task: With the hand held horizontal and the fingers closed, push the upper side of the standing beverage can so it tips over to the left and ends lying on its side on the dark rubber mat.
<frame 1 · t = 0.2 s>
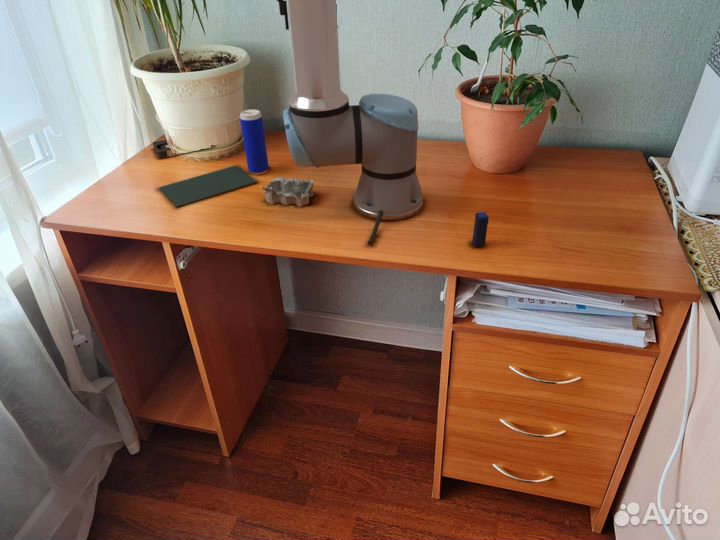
hand: (313, 27, 139), 28 cm above the table, tool pointing down, fingers open, 13 cm apart
eraser: (478, 245, 102), on the table
mat: (208, 186, 126), on the table
beverage can: (259, 171, 132), on the table
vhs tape: (183, 149, 146), on the table
egg carton: (289, 198, 120), on the table
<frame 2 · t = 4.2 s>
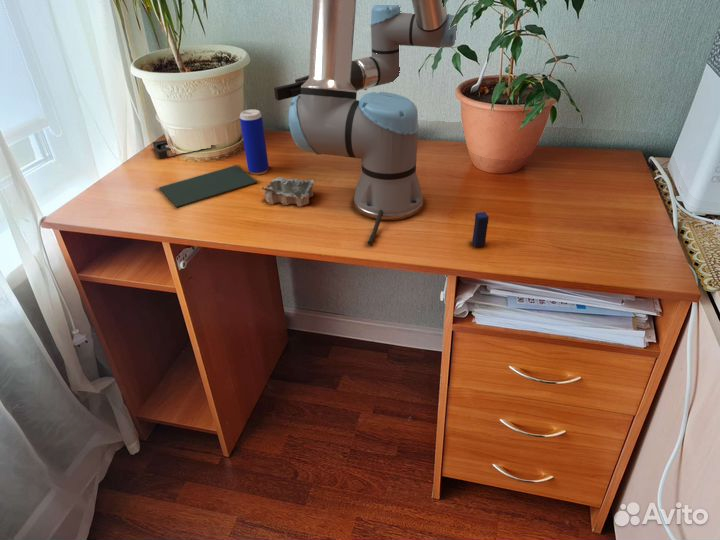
hand: (276, 94, 125), 18 cm above the table, tool horizontal, fingers closed
nothing on the table moved.
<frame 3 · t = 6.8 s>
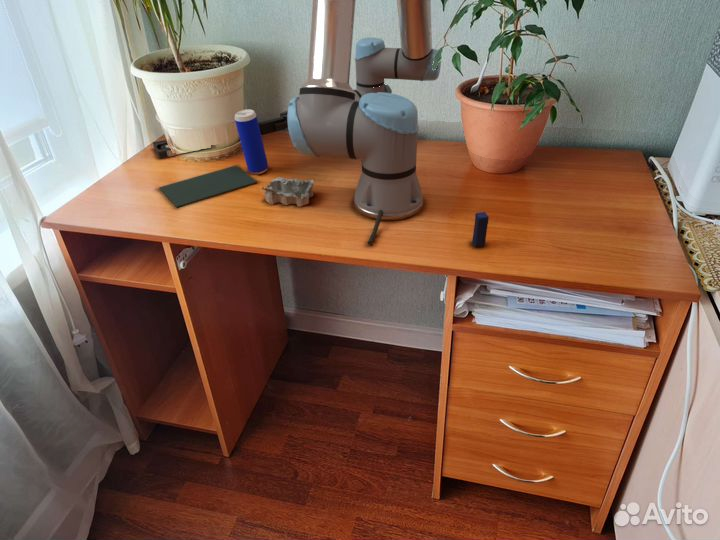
hand: (260, 128, 127), 10 cm above the table, tool horizontal, fingers closed
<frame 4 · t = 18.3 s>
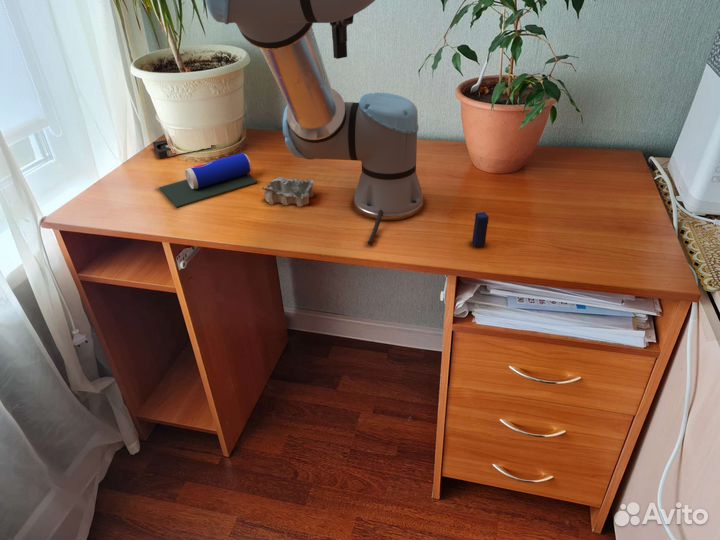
hand: (340, 57, 118), 26 cm above the table, tool pointing down, fingers closed
beverage can: (248, 162, 129), point 3 cm above the table, touching mat
everything else where it was.
at the end: beverage can tilted 90°; beverage can touching mat; beverage can inside the target area (0.4 cm from its centre), point 3.0 cm above the table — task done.
